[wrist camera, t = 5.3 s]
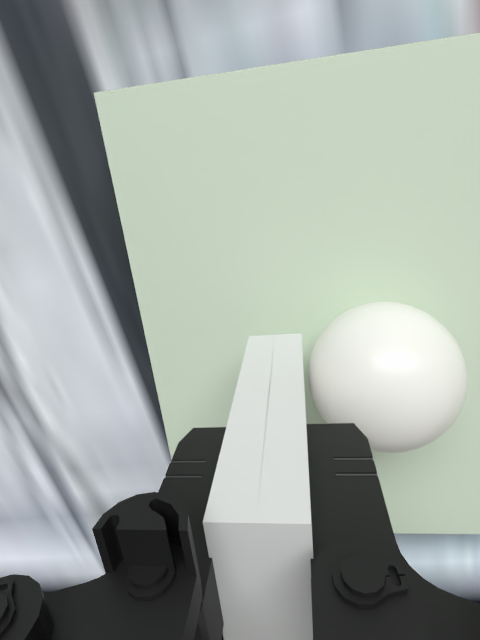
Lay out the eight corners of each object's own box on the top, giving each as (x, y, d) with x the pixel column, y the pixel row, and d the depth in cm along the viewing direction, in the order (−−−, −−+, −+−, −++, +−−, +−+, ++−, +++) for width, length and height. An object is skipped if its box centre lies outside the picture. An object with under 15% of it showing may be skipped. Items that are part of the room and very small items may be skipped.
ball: (285, 427, 13) (382, 513, 9) (275, 306, 11) (385, 357, 8) (381, 385, 14) (494, 447, 11) (383, 275, 13) (514, 305, 9)
